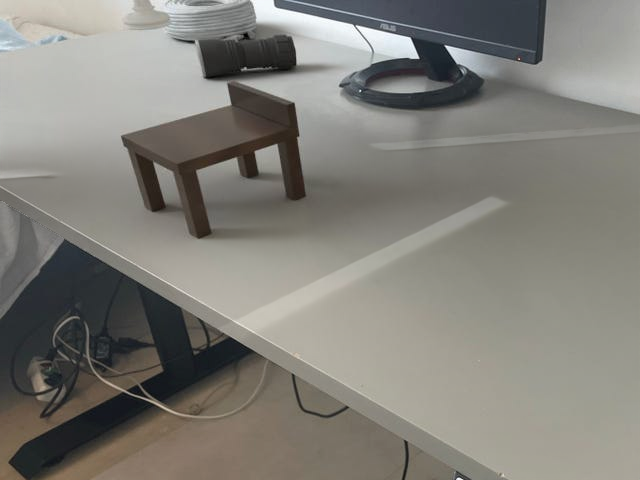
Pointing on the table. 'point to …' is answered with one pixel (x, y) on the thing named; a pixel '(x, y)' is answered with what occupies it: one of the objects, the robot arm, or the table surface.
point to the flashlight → (245, 54)
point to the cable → (210, 19)
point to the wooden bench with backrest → (216, 149)
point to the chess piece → (145, 17)
